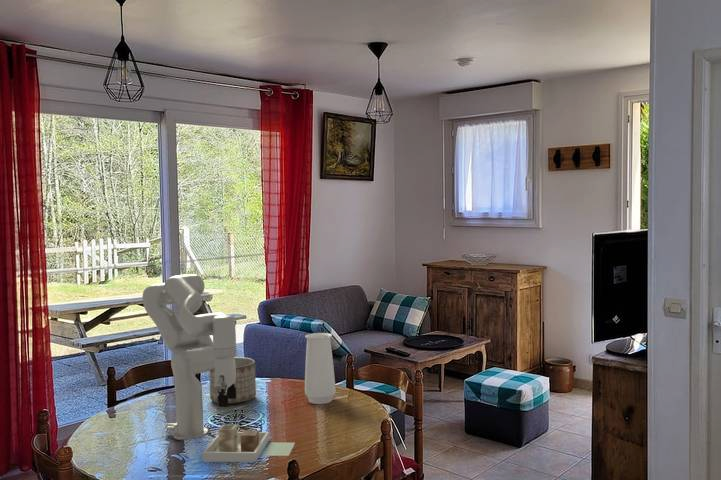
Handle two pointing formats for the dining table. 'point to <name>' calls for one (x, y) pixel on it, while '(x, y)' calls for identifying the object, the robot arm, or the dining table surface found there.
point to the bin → (215, 456)
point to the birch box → (228, 438)
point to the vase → (319, 369)
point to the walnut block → (249, 440)
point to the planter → (238, 381)
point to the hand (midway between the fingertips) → (227, 402)
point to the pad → (278, 449)
